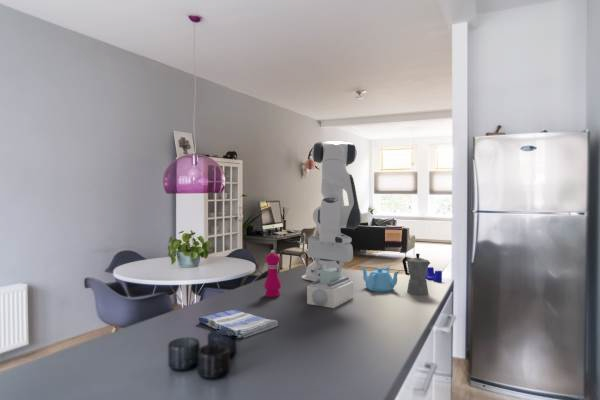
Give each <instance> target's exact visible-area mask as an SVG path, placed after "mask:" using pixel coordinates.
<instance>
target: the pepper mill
mask: <svg viewBox="0 0 600 400" xmlns="http://www.w3.org/2000/svg"><path fill="white" fill-rule="evenodd" d="M265 262H266V263H267V265H266V268H267V277H266V279H265V281H264V288H265V296H266V297H268V298H276V297H280V296H281V291H280V289H281V287H282V283H281V280H280V278H279V276H278V269H279V262H280V256H279V254H277V253H276V252H275V250H274V249H272V250H270V253H268V254H267V255H266V257H265Z"/></svg>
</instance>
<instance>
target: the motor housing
mask: <svg viewBox="0 0 600 400" xmlns="http://www.w3.org/2000/svg"><path fill="white" fill-rule="evenodd" d="M306 287H307V289H306V301H307V302H306V303H307V305H313V306H319V307H326V308H332V309H335V308H337V307H339V306H340V305H342V304H344V303H346V302H348V301H349V300H352V299H354V282H353V281H351V279H350V278H349V276H344V278H340V279H339V280H336V281H334V282H331V283H329V284H321V283H320V279H318V280H316V281H311V283H310V284H309V285H308V286H306Z"/></svg>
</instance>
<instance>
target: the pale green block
mask: <svg viewBox="0 0 600 400" xmlns="http://www.w3.org/2000/svg"><path fill="white" fill-rule="evenodd" d="M339 279H340V272H337V268H328V269H325V270H322V271H320V283H321V284H329V283H331V282H334V281H336V280H339Z"/></svg>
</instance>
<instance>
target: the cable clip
mask: <svg viewBox="0 0 600 400" xmlns="http://www.w3.org/2000/svg"><path fill="white" fill-rule="evenodd" d="M426 281H433V282H434V283H442V282H443V271H442V270H434V267H433V266H428V269H427V275H426Z"/></svg>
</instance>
